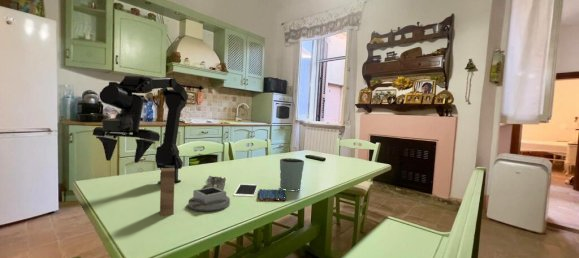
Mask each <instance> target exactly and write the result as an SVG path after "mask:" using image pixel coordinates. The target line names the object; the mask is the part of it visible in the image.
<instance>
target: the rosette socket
mask: <svg viewBox="0 0 579 258" xmlns="http://www.w3.org/2000/svg"><path fill="white" fill-rule="evenodd" d="M192 193H193V194H192V195H193V197H190V198H189V199H188V204H187V205H188V208H189V209H190V210H191V211H195V212H197V213H198V212H199V213H212V212H214V213H215V212H219V211H222V209H223V210H225V209H227V208H229V206H230V205H231V204H230V200H231V199H230V197H229V196H227V191H225V190H221V189H219V188H217V187H209V188H205V187H204V188H200V189H199V188H198V189H194V190H193V192H192Z"/></svg>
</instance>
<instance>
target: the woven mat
mask: <svg viewBox="0 0 579 258" xmlns="http://www.w3.org/2000/svg"><path fill="white" fill-rule="evenodd" d="M286 195H287V194H286V191H285V190H282V189H264V188H263V189H262V188H260V189H259V190H258V191H257V195H256V196H257V197H256V200H257V201H258V200H259V201H261V200H263V201H264V200H266V202H269V201H270V200H272V201H273V200H278V199H279V200H281V201H283V200H285V201H286V200H287V198H286V197H287V196H286ZM284 197H285V198H284ZM268 200H269V201H268Z"/></svg>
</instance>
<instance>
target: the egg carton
mask: <svg viewBox="0 0 579 258" xmlns="http://www.w3.org/2000/svg"><path fill="white" fill-rule="evenodd" d="M226 181H227V180H226V177H222V176H212V175H209V176H208V178H207V179H206V180H205V184H206V188H209V187H217V188H219V189H221V190H223V191H225V190H224V189H225V186H226Z"/></svg>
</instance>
